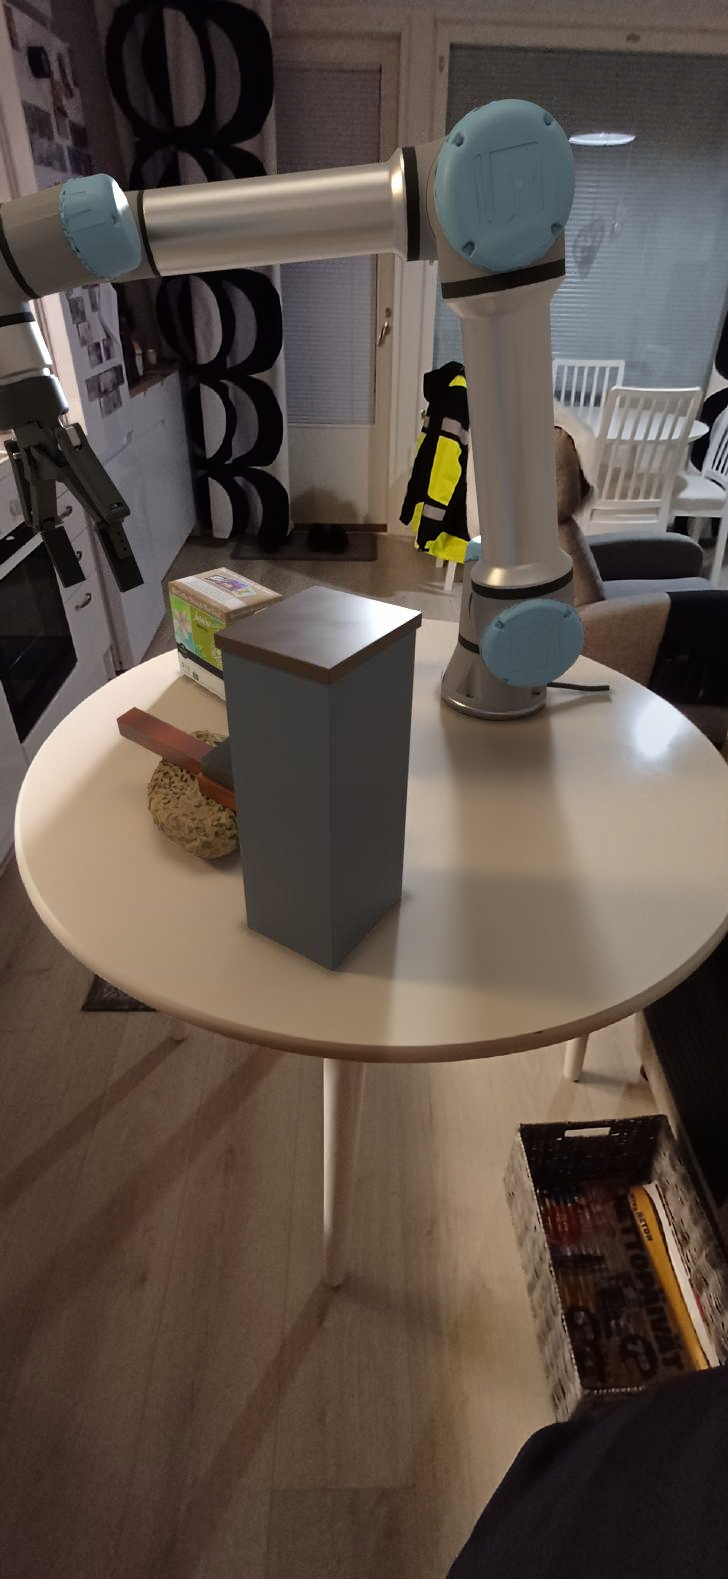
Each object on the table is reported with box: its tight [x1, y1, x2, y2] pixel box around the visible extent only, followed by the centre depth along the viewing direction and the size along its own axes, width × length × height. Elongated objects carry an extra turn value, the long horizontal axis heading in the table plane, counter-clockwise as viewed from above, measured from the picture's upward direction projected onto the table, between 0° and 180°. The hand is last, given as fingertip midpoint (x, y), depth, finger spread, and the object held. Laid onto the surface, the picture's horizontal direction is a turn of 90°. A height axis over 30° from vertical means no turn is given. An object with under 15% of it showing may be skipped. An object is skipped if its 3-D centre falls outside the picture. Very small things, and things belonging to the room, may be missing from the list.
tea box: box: [167, 566, 284, 703], centre depth 113 cm, size 15×10×15 cm
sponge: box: [146, 729, 240, 859], centre depth 87 cm, size 13×8×20 cm
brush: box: [116, 706, 236, 811], centre depth 84 cm, size 22×6×5 cm, turn 56°
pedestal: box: [214, 585, 423, 972], centre depth 68 cm, size 11×13×30 cm
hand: (102, 586), depth 88 cm, fingers open, 13 cm apart
